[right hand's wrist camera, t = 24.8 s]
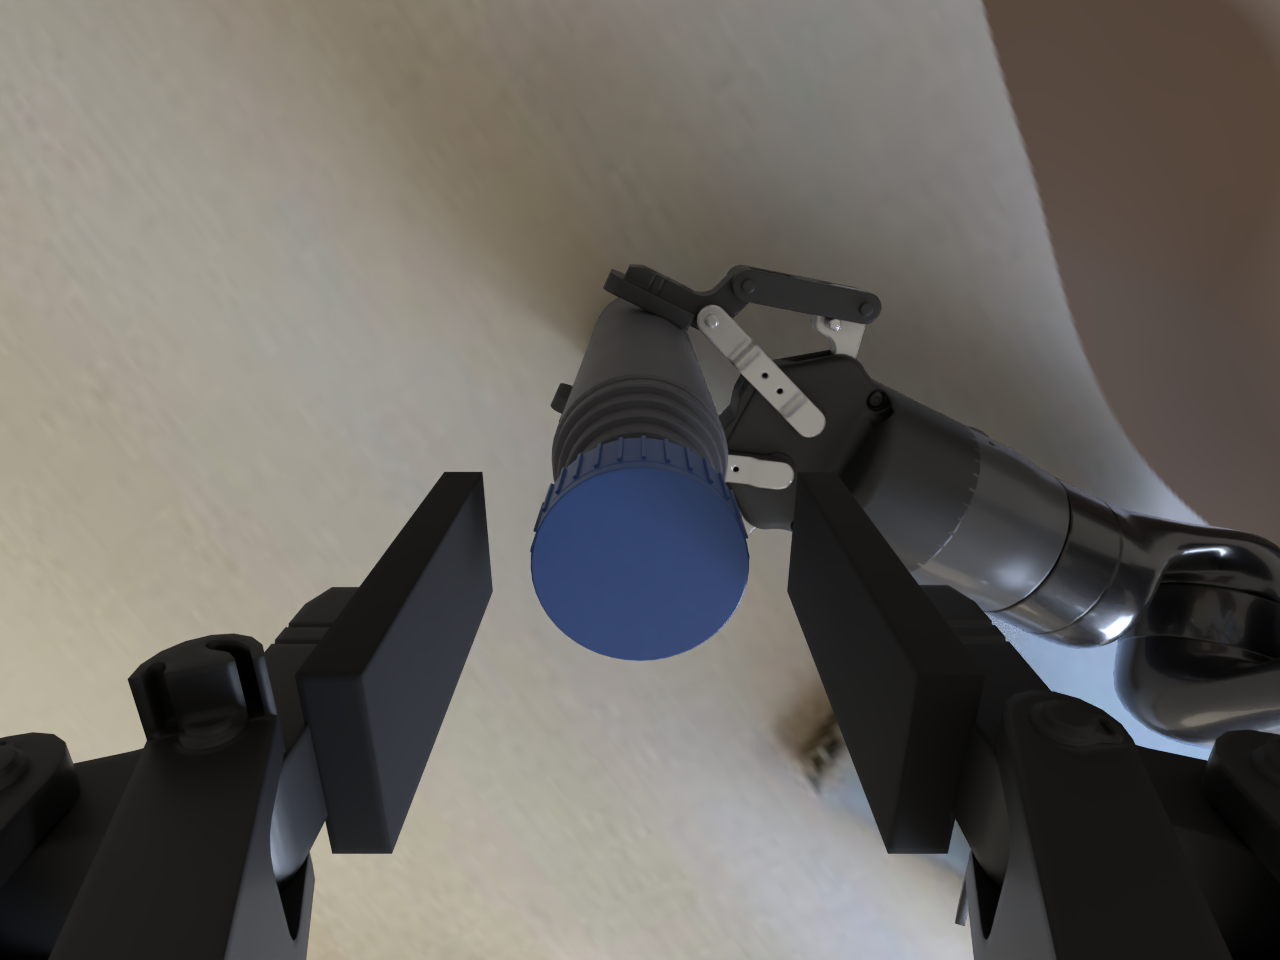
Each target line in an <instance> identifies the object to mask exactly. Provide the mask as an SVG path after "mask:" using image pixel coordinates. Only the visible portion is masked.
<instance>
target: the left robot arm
mask: <svg viewBox="0 0 1280 960" xmlns="http://www.w3.org/2000/svg"><path fill="white" fill-rule="evenodd" d="M603 288H604V289H605V290H606V291H608V292H610V293H612V294H614V295H616V296H618V297H620V298H622V299H624V300H626V301H628V302H630V303H632V304H634V305H636V306H638V307H640V308H642V309H644V310H646V311H648V312H650V313H652V314H655V315H657V316H659V317H661V318H663V319H665V320H667V321H669V322H671V323H673V324H675V325H677V326H679V327H681V328H683V329H685V330H688V328H689V326H692V327H694V328H696V329H698V330H700V331H701V332H702V333H703V334H704V335H705V336H706V337H707V338H708V339H709V340H710V341H711V342H712V343H713V344H714V345H715V346H716V347H717V348H718V349H719V350H720V351H721V352H722V353H723V354H724V355H725V356H726V357H727V358H728V360H729V361H730V362H731V363H732V364H733V365H734V366H735V367H736V369H737V370H738V371H739V372H740V373H741V375H740V377H739V378H738V380H737V382H736V384H735V386H734V389H733V393H732V397H731V402H730V404H729V406H728V407H727V408H726V409H725V410H724V411H723V412H722V413H721V415H720V416H719V419H720V422H721V424H722V427H723V430H724V433H725V436H726V440H727V447H728V467H727V477H726V483H725V484H726V485H727V487H728V489H729V490H731V489H732V490H733V493H734V496H735V499H736V502H737V505H738V508H739V511H740V514H741V517H742V520H743V523H744V526H745V529H746V532H747V535H749V534H750V533H751V532H752V531H753V530H754V529H755V528H759V529H785V530H789V531H791V532H793V520H794V509H795V497H796V485H797V474H798V472H836V473H837V475H838V476H839V477H840V479H841V480H842V481H843V483H844V484H845V485H846V487H847V488H848V490H849V491H850V492H851V494H852V495H853V496H854V498H855V499H856V500H857V502H858V503H859V504H860V506H861V507H862V509H863V510H864V511H865V513H866V514H867V515H868V517H869V518H870V519H871V521H872V522H873V523H874V525H875V526H876V527H877V529H878V530H879V532H880V533H881V534H882V536H883V537H884V538H885V540H886V541H887V542H888V544H889V545H890V546H891V548H892V549H893V550H894V552H895V553H896V555H897V556H898V557H899V559H900V560H901V561H902V563H903V564H904V565H905V567H906V568H907V569H908V571H909V572H910V573H911V575H912V576H913V578H914V579H915V580H916V582H917V583H918V584H919V585H949V586H951V587H952V588H954V589H955V590H957V591H959V592H960V593H962V594H964V595H965V596H967V597H968V598H970V599H972V600H973V601H975V602H976V603H977V604H978V606H979V607H980V608H981V609H982V610H983V611H984V613H986V614H989V615H991V616H993V617H995V618H997V619H1000V620H1002V621H1004V622H1006V623H1009V624H1011V625H1013V626H1015V627H1017V628H1020V629H1022V630H1023V631H1025V632H1028V633H1030V634H1032V635H1034V636H1037V637H1039V638H1041V639H1044V640H1046V641H1049V642H1051V643H1055V644H1058V645H1061V646H1065V647H1070V648H1081V649H1087V648H1096V647H1100V646H1103V645H1106V644H1109V643H1111V642H1114V641H1115V640H1117V639H1118V645H1117V650H1116V657H1115V666H1114V686H1115V691H1116V694H1117V696H1118V699H1119V700H1120V702H1121V703H1122V705H1123V706H1124V708H1125V709H1126V710H1127V711H1128V712H1129V713H1130V714H1131V715H1132V716H1133V717H1134V718H1135V719H1136V720H1137V721H1138V722H1140V723H1141V724H1143V725H1144V726H1145V727H1147V728H1148V729H1150V730H1151V731H1153V732H1155V733H1157V734H1159V735H1161V736H1163V737H1165V738H1168V739H1170V740H1173V741H1176V742H1179V743H1182V744H1185V745H1190V746H1194V747H1199V748H1205V749H1212V748H1213V746H1214V743H1215V740H1216V739H1217V738H1218V737H1219V736H1221V735H1222V734H1224V733H1225V732H1227V731H1234V730H1246V729H1249V730H1255V731H1262V732H1268V733H1274V734H1279V735H1280V548H1279V547H1278V546H1277V545H1275V544H1274V543H1272V542H1270V541H1269V540H1267V539H1265V538H1263V537H1260V536H1258V535H1255V534H1252V533H1248V532H1244V531H1239V530H1233V529H1227V528H1220V527H1213V526H1205V525H1198V524H1190V523H1185V522H1179V521H1174V520H1169V519H1164V518H1160V517H1155V516H1151V515H1147V514H1142V513H1138V512H1134V511H1130V510H1126V509H1122V508H1118V507H1115V506H1112V505H1110V504H1108V503H1106V502H1104V501H1102V500H1100V499H1098V498H1096V497H1094V496H1092V495H1090V494H1088V493H1086V492H1084V491H1082V490H1080V489H1078V488H1076V487H1074V486H1072V485H1070V484H1068V483H1066V482H1064V481H1062V480H1060V479H1058V478H1055V477H1053V476H1052V475H1050V474H1048V473H1047V472H1045V471H1043V470H1041V469H1040V468H1039V467H1037V466H1036V465H1034V464H1033V463H1031V462H1030V461H1029V460H1027V459H1026V458H1025V457H1023V456H1022V455H1020V454H1019V453H1017V452H1016V451H1014V450H1012V449H1010V448H1008V447H1007V446H1005V445H1003V444H1001V443H999V442H997V441H995V440H993V439H991V438H989V437H988V436H987V435H986V434H985V433H984V432H982V431H980V430H978V429H975V428H972V427H966V426H964V425H962V424H960V423H958V422H956V421H954V420H952V419H950V418H948V417H946V416H944V415H942V414H940V413H938V412H936V411H934V410H932V409H930V408H928V407H926V406H924V405H922V404H920V403H918V402H916V401H914V400H912V399H910V398H908V397H906V396H904V395H902V394H900V393H898V392H896V391H894V390H892V389H890V388H888V387H886V386H884V385H882V384H880V383H878V382H876V381H875V380H873V379H871V378H870V377H869V375H868V374H867V373H866V371H865V369H864V368H863V366H862V364H861V363H860V362H859V361H858V360H857V359H856V357H857V354H858V350H859V347H860V344H861V340H862V337H863V334H864V330H865V327H866V324H869V323H871V322H873V321H874V320H876V319H877V317H878V316H879V314H880V312H881V302H880V300H879V298H878V297H877V296H875V295H874V294H871V293H869V292H866V291H863V290H860V289H858V288H855V287H851V286H846V285H841V284H836V283H831V282H826V281H820V280H815V279H810V278H805V277H800V276H795V275H790V274H785V273H780V272H775V271H770V270H765V269H760V268H755V267H750V266H745V265H737V266H735V267H733V268H731V269H730V270H729V272H728V273H727V276H726V277H725V278H724V279H723V280H722V281H721V282H720V283H718V284H717V285H716V286H715V287H714V288H713V289H711V290H709V291H706V292H697V291H694V290H692V289H690V288H688V287H686V286H684V285H682V284H680V283H678V282H676V281H674V280H672V279H670V278H668V277H666V276H664V275H662V274H660V273H658V272H656V271H654V270H652V269H650V268H648V267H646V266H644V265H635V264H630V265H629V268H628V270H627V272H626V274H623V273H620V272H618V271H616V270H613V269H611V272H610V274H609V276H608V278H607V281H606V283H605V285H604V287H603ZM749 302H750V303H755V304H761V305H766V306H771V307H776V308H781V309H786V310H792V311H797V312H802V313H807V314H812V315H811V323H812V326H813V327H814V329H815V330H817V331H818V332H819V333H821V334H822V335H825V336H827V337H828V338H829V341H830V350H826V351H821V352H815V353H809V354H804V355H798V356H793V357H787V358H782V359H776V360H772V359H771V358H770V357H769V356H768V354H767V353H766V352H765V351H764V350H763V349H762V348H761V347H760V346H759V345H758V344H757V343H756V342H755V341H754V340H753V339H752V338H751V337H750V336H749V335H748V334H747V333H746V332H745V331H744V330H743V329H742V328H741V327H740V325H739V324H738V323H737V322H736V321H735V320H734V319H733V318H734V317H735V316H736V315H737V314H738V313H739V312H740V311H741V310H742V309H743V308H744V307H745V306H746V305H747V304H748V303H749ZM571 390H572V386H570V385H568V384H564V383H561V384H560V385H559V387H558V390H557V392H556V394H555V396H554V399H553V401H552V403H551V407H552V408H553V409H554V410H556V411H557V412H559V413H561V414H563V411H564V409H565V406H566V403H567V401H568V398H569V395H570V393H571ZM561 417H562V415H561ZM560 419H561V418H560ZM559 422H560V420H559Z"/></svg>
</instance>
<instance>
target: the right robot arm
mask: <svg viewBox="0 0 1280 960" xmlns="http://www.w3.org/2000/svg"><path fill="white" fill-rule="evenodd" d="M492 592H493V590H492V578H491V567H490V555H489V543H488V532H487V520H486V509H485V497H484V485H483V474H482V472H444V473H443V475H442V476H441V477H440V479H439V480H438V481H437V483H436V484H435V486H434V487H433V488H432V490H431V491H430V492H429V494H428V495H427V496H426V498H425V499H424V500H423V502H422V503H421V504H420V506H419V507H418V509H417V510H416V511H415V513H414V514H413V515H412V517H411V518H410V519H409V521H408V522H407V523H406V525H405V526H404V527H403V529H402V530H401V532H400V533H399V534H398V536H397V537H396V538H395V540H394V541H393V542H392V544H391V545H390V546H389V548H388V549H387V550H386V552H385V553H384V555H383V556H382V557H381V559H380V560H379V561H378V563H377V564H376V565H375V567H374V568H373V569H372V571H371V572H370V573H369V575H368V576H367V578H366V579H365V580H364V582H363V583H362V584H361V586H360V587H332V588H330V589H329V590H327V591H325V592H324V593H322V594H321V595H319V596H317V597H316V598H314V599H313V600H311V601H309V602H308V603H306V604H305V605H304V606H303V607H302V608H301V610H300V611H299V612H298V613H297V614H296V616H295V617H294V618H293V619H292V620H291V622H290V623H289V627H285V629H284V630H283V631H282V632H281V633H280V635H279V636H278V637H277V638H276V639H275V644H271V645H270V646H269V648H268V649H267V650H266V651H265V652H264V650H263V645H262V644H261V643H259V642H258V641H257V640H255V639H254V638H253V637H250V636H244V635H239V634H220V635H209V636H205V637H201V638H197V639H193V640H189V641H185V642H183V643H180V644H178V645H175V646H173V647H171V648H168V649H166V650H163V651H161V652H159V653H158V654H156V655H155V656H153V657H152V658H150V659H149V660H147V661H146V662H144V663H142V664H141V665H140V666H139V667H138V668H137V669H136V670H135V672H134V673H133V674H132V675H131V676H130V677H129V678H128V682H129V685H130V688H131V691H132V694H133V697H134V701H135V704H136V707H137V710H138V713H139V716H140V720H141V723H142V726H143V729H144V732H145V735H146V739H147V742H146V744H145V746H144V748H143V749H139V750H135V751H131V752H127V753H122V754H117V755H112V756H108V757H103V758H98V759H93V760H89V761H84V762H79V763H74V764H73V762H72V759H71V756H70V754H69V751H68V748H67V746H66V743H65V742H64V741H63V740H61V739H60V738H59V737H57V736H56V735H54V734H46V733H34V732H33V733H26V734H20V735H14V736H8V737H3V738H0V960H306V956H307V947H308V938H309V929H310V919H311V910H312V901H313V892H314V883H315V877H314V871H313V864H312V860H311V856H310V849H311V847H312V845H313V843H314V841H315V839H316V838H317V836H318V834H319V832H320V830H321V828H322V826H323V824H324V822H325V821H326V826H327V831H328V835H329V840H330V845H331V850H332V854H392V852H393V849H394V847H395V844H396V842H397V839H398V836H399V834H400V831H401V829H402V826H403V823H404V821H405V818H406V816H407V813H408V810H409V808H410V805H411V803H412V800H413V797H414V795H415V792H416V790H417V787H418V784H419V782H420V779H421V777H422V774H423V771H424V769H425V766H426V763H427V761H428V758H429V756H430V753H431V750H432V748H433V745H434V743H435V740H436V737H437V735H438V732H439V730H440V727H441V724H442V722H443V719H444V717H445V714H446V711H447V709H448V706H449V704H450V701H451V698H452V696H453V693H454V691H455V688H456V685H457V683H458V680H459V678H460V675H461V672H462V670H463V667H464V665H465V662H466V659H467V657H468V654H469V651H470V649H471V646H472V644H473V641H474V638H475V636H476V633H477V631H478V628H479V625H480V623H481V620H482V618H483V615H484V612H485V610H486V607H487V605H488V602H489V599H490V597H491V594H492ZM787 592H788V594H789V597H790V599H791V602H792V605H793V607H794V610H795V612H796V615H797V618H798V620H799V623H800V625H801V628H802V631H803V633H804V636H805V638H806V641H807V644H808V646H809V649H810V651H811V654H812V657H813V659H814V662H815V665H816V667H817V670H818V672H819V675H820V678H821V680H822V683H823V685H824V688H825V691H826V693H827V696H828V698H829V701H830V704H831V706H832V709H833V711H834V714H835V717H836V719H837V722H838V724H839V727H840V730H841V732H842V735H843V737H844V740H845V743H846V745H847V748H848V750H849V753H850V756H851V758H852V761H853V763H854V766H855V769H856V771H857V774H858V777H859V779H860V782H861V784H862V787H863V790H864V792H865V795H866V797H867V800H868V803H869V805H870V808H871V810H872V813H873V816H874V818H875V821H876V823H877V826H878V829H879V831H880V834H881V836H882V839H883V842H884V844H885V847H886V849H887V852H888V854H948V850H949V845H950V840H951V835H952V831H953V826H954V821H955V818H956V820H957V822H958V824H959V826H960V828H961V830H962V832H963V834H964V836H965V838H966V840H967V842H968V844H969V846H970V847H971V851H970V856H969V860H968V864H967V869H966V873H965V878H964V882H963V886H962V891H961V895H960V899H959V904H958V908H957V915H956V921H955V923H956V924H959V925H963V926H965V923H966V919H967V915H968V911H969V917H970V926H971V936H972V945H973V954H974V960H1280V735H1279V734H1274V733H1268V732H1262V731H1255V730H1249V729H1246V730H1234V731H1227V732H1225V733H1224V734H1222V735H1221V736H1219V737H1218V738H1217V739H1216V740H1215V743H1214V746H1213V748H1212V751H1211V754H1210V756H1209V759H1208V761H1206V760H1202V759H1197V758H1192V757H1187V756H1182V755H1178V754H1173V753H1168V752H1163V751H1159V750H1154V749H1149V748H1145V747H1141V746H1138V745H1135V743H1134V741H1133V739H1132V738H1131V736H1130V735H1129V734H1128V732H1127V731H1126V730H1125V728H1124V727H1123V726H1122V724H1121V723H1119V722H1118V721H1117V720H1115V719H1114V718H1113V717H1111V716H1110V715H1109V714H1107V713H1106V712H1105V711H1103V710H1102V709H1100V708H1098V707H1096V706H1093V705H1091V704H1089V703H1087V702H1085V701H1083V700H1081V699H1079V698H1075V697H1072V696H1068V695H1064V694H1061V693H1057V692H1052V691H1051V690H1050V689H1049V688H1048V687H1047V686H1046V684H1045V683H1044V682H1043V681H1042V680H1041V679H1040V677H1039V676H1038V675H1037V674H1036V673H1035V671H1034V670H1033V669H1032V668H1031V667H1030V666H1029V664H1028V663H1027V662H1026V661H1025V660H1024V659H1023V657H1022V656H1021V655H1020V654H1019V653H1018V651H1017V650H1016V649H1015V648H1014V647H1013V646H1012V644H1011V643H1010V642H1009V641H1006V640H1005V636H1004V635H1003V634H1002V633H1001V631H1000V630H999V629H998V628H997V627H996V626H995V625H992V621H991V620H990V619H989V617H988V616H987V615H986V614H985V613H984V611H983V610H982V609H981V608H980V607H979V606H978V604H977V603H976V602H975V601H973V600H972V599H970V598H968V597H967V596H965V595H964V594H962V593H960V592H959V591H957V590H955V589H954V588H952V587H951V586H949V585H919V584H918V583H917V582H916V580H915V579H914V578H913V576H912V575H911V573H910V572H909V571H908V569H907V568H906V567H905V565H904V564H903V563H902V561H901V560H900V559H899V557H898V556H897V555H896V553H895V552H894V550H893V549H892V548H891V546H890V545H889V544H888V542H887V541H886V540H885V538H884V537H883V536H882V534H881V533H880V532H879V530H878V529H877V527H876V526H875V525H874V523H873V522H872V521H871V519H870V518H869V517H868V515H867V514H866V513H865V511H864V510H863V509H862V507H861V506H860V504H859V503H858V502H857V500H856V499H855V498H854V496H853V495H852V494H851V492H850V491H849V490H848V488H847V487H846V485H845V484H844V483H843V481H842V480H841V479H840V477H839V476H838V475H837V473H836V472H798V474H797V485H796V497H795V509H794V520H793V532H792V543H791V555H790V567H789V578H788V590H787Z"/></svg>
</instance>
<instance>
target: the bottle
mask: <svg viewBox="0 0 1280 960" xmlns="http://www.w3.org/2000/svg"><path fill="white" fill-rule="evenodd" d="M642 435H643V436H646V438H651V439H658V440H663V441H664V438H666V439H668V440H669V442H671V443H674V444H677V445H680V446H682V447H684V448H685V446H688V447H689V448H690V451H692V452H694V453H695V454H697V455H698V456H700V457H701V458H704V457H706V458H707V459H708V462H709V464H710V465H711V466H712V467H713V468H714V469H715V470H716V472H717V473H719V472H721V473H722V474H723V477H724V480H725V483H726V477H727V467H728V447H727V440H726V436H725V433H724V430H723V427H722V424H721V422H720V419H719V416H718V414H717V411H716V408H715V406H714V403H713V400H712V398H711V395H710V392H709V390H708V387H707V384H706V382H705V379H704V376H703V374H702V371H701V368H700V366H699V363H698V360H697V358H696V355H695V352H694V350H693V347H692V344H691V342H690V339H689V336H688V334H687V331H686V330H685V329H683V328H681V327H679V326H677V325H675V324H673V323H671V322H669V321H667V320H665V319H663V318H661V317H659V316H657V315H655V314H652V313H650V312H648V311H646V310H644V309H642V308H640V307H638V306H636V305H634V304H632V303H630V302H628V301H626V300H624V299H622V298H618V299H616V300H615V301H613V302H612V303H610V304H609V305H608V306H607V307H606V308H605V310H604V311H603V312H602V314H601V315H600V317H599V319H598V321H597V324H596V327H595V329H594V332H593V334H592V337H591V340H590V342H589V345H588V348H587V350H586V353H585V356H584V358H583V361H582V364H581V366H580V369H579V372H578V374H577V377H576V380H575V382H574V385H573V387H572V390H571V393H570V395H569V398H568V401H567V403H566V406H565V409H564V411H563V414H562V417H561V419H560V422H559V425H558V427H557V430H556V433H555V437H554V441H553V447H552V466H553V477H554V482H556V481H557V479H558V478H559V476H560V473H561V470H562V468H563V467H565V468H567V467H568V466H569V465H570V464H571V463H573V462H574V461H575V460H576V459H577V456H578V454H580V453H582V455H583V454H585V453H586V452H588V451H590V450H592V449H594V448H596V447H597V444H599V443H601V444H602V445H603V444H606V443H609V442H612V441H616V440H619V437H623V439H627V438H642Z"/></svg>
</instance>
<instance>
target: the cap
mask: <svg viewBox="0 0 1280 960" xmlns="http://www.w3.org/2000/svg"><path fill="white" fill-rule="evenodd" d="M534 532H536V534H535V537H534V540H533V543H532V546H531V551H530V552H532V553H531V573H532V581H533V584H534V588H535V591H536V594H537V596H538V599H539V601H540V603H541V605H542V607H543V608H544V610H545V612H546V613H547V615H548V616H549V618H550V619H551V620H552V621H553V622H554V624H555V625H556V626H557V627H558V628H559V629H560V630H561V631H562V632H563V633H564V634H565V635H567V636H568V637H570V638H571V639H572V640H574V641H575V642H576V643H578V644H580V645H582V646H584V647H585V648H587V649H589V650H592V651H594V652H596V653H599V654H602V655H605V656H609V657H612V658H618V659H624V660H636V661H643V660H656V659H662V658H667V657H671V656H675V655H678V654H681V653H683V652H686V651H688V650H691V649H693V648H695V647H696V646H698V645H700V644H702V643H703V642H705V641H706V640H708V639H709V638H710V637H712V636H713V635H714V634H715V633H717V632H718V631H719V630H720V629H721V628H722V627H723V626H724V625H725V624H726V622H727V621H728V620H729V619H730V618H731V616H732V615H733V613H734V612H735V610H736V608H737V607H738V605H739V603H740V601H741V599H742V596H743V594H744V591H745V587H746V584H747V579H748V573H749V553H748V547H747V543H746V538H748V535H747V532H746V529H745V526H744V523H743V520H742V517H741V514H740V511H739V508H738V505H737V502H736V499H735V496H734V493H733V490H732V489H731V490H729V489H728V487H727V485H726V484H725V480H724V477H723V474H722V473H721V472H719V473H717V472H716V470H715V469H714V468H713V467H712V466H711V465H710V464H709V462H708V459H707V458H706V457H704V458H701V457H700V456H698V455H697V454H695V453H694V452H692V451H690V448H689V447H688V446H685V448H684V447H682V446H680V445H677V444H674V443H671V442H669V440H668V439H666V438H664V441H663V440H658V439H651V438H646V436H643V435H642V438H627V439H623V437H619V440H616V441H612V442H609V443H606V444H603V445H602V444H601V443H599V444H597V447H596V448H594V449H592V450H590V451H588V452H586V453H585V454H583V455H582V453H580V454H578V456H577V459H576V460H575V461H574V462H573V463H571V464H570V465H569V466H568V467H567V468H565V467H563V468H562V470H561V473H560V476H559V478H558V479H557V481H556V482H555V484H552V483H551V485H550V486H549V490H548V493H547V496H546V499H545V502H543V503H542V506H541V509H540V512H539V515H538V518H537V521H536V524H535V527H534Z"/></svg>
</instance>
